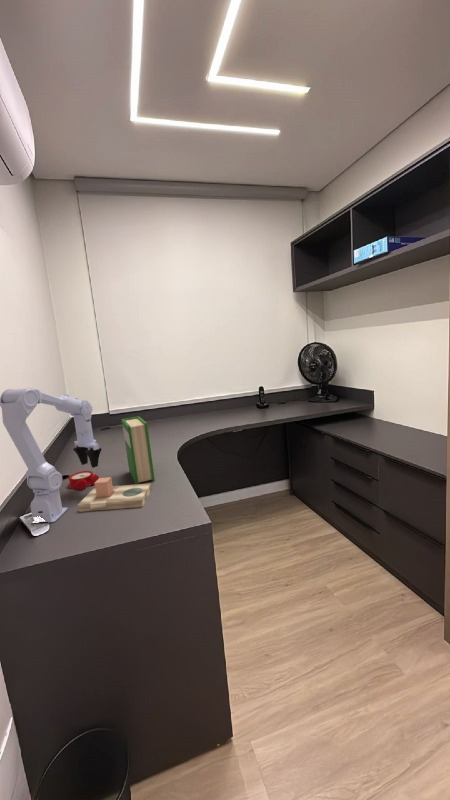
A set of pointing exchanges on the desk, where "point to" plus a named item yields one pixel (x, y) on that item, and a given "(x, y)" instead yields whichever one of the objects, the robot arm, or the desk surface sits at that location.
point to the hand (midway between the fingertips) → (89, 465)
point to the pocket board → (117, 498)
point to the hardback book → (138, 449)
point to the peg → (104, 487)
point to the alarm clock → (82, 480)
